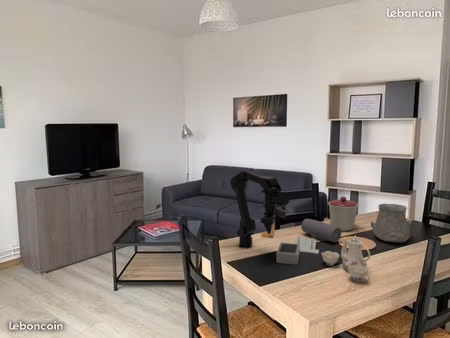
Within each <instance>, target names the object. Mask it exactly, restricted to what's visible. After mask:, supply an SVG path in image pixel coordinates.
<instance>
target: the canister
mask: <svg viewBox="0 0 450 338" xmlns="http://www.w3.org/2000/svg"><path fill="white" fill-rule="evenodd" d="M327 204H328V206H329V207H328V208H329V219H330V225H333V226H335V227H338V228H340V230H341V232H349V231H352V230H353V228H354V227H355V223H356V218H357V217H356V215H357V210H358V206H359V204H358V203H357V202H356V201H354V200H348V199H347V197H345V196H341V197H340V198H339V199H332V200H330V201H328V203H327Z"/></svg>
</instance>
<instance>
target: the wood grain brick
mask: <svg viewBox="0 0 450 338" xmlns="http://www.w3.org/2000/svg"><path fill="white" fill-rule="evenodd" d="M275 228H276V227H275V222H274V223H273V224H272V227H271V233H270V234H268V232H267V231H262V233H261V235H260V238H262V239H264V238H266V239H274V237H275V232H276V230H275Z"/></svg>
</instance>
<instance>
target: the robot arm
mask: <svg viewBox="0 0 450 338" xmlns="http://www.w3.org/2000/svg"><path fill="white" fill-rule="evenodd" d="M248 181H251V182H253V183H255V184H258V185H259V186H260V187H261V188H262V190H261V191H260V192H261V193H262V194H264V195H263V198H264V199H263V200H264V204H263V208H264V209H263V210H264V212H263V215H262V217H261V218H260V224H263V226H264V228H265V230H266V232H268V234H270V233H271V227H272V224H273V223H274V224H275V221H276V220H277V218H279V217H280V218H282V219H285V218H286V216H287V213H288V210H287V207H286V206H287V205H288V204H289V202H290V196H289V195H288V194H287V191H286V190H285V191H283V190H282V187H281V185H280V183H279V181H278V179H277V178H276V177H275V176H264V175H261V174H259V173H256V172H253V171H251V170H249V169H246V170H242V171H240V172H239V173H238V174H237V175H236V174H235V175H234V176H233V177H231V179H230V181H229V183H230V187H231V189H232V190H233V192H234V193H235V195H236V200H237V201H236V202H237V206H238V209H239V210H238V211H239V215H240V221H239V228H238V229H237V230H236V235H237V237H239V238H238V239H239V240H238V241H239V245H238V248H246V249H251V248H252V245H253V237H252V235H254V234H255V233H256V232H255V231H256V228H257V227H256V226H257V225H256V221H255V219H252V218H251V216H250V211H249V206H248V201H247V198H246V192H245V191H246V188H247V182H248ZM278 205H280V206H278Z"/></svg>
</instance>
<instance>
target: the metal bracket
mask: <svg viewBox="0 0 450 338" xmlns="http://www.w3.org/2000/svg"><path fill="white" fill-rule="evenodd" d="M294 244H300V253H309V254H318V255H319V254H320V253H319V252H320V249H316V244H317V238H307V237H300V236H297V237H295V240H294Z"/></svg>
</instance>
